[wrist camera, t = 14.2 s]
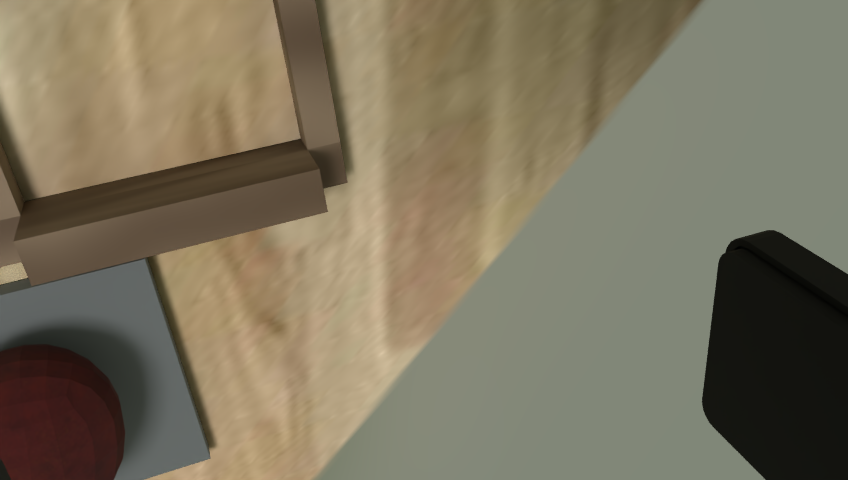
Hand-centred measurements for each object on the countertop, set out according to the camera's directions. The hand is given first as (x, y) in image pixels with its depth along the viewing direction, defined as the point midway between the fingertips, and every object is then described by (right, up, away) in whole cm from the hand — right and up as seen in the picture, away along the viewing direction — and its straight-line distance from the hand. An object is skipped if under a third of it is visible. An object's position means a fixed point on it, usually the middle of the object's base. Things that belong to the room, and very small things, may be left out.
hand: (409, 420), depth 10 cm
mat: (-18, -5, +27) cm, 33 cm away
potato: (-18, -5, +27) cm, 32 cm away
